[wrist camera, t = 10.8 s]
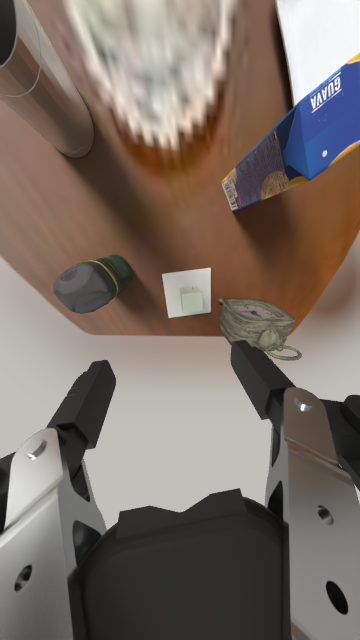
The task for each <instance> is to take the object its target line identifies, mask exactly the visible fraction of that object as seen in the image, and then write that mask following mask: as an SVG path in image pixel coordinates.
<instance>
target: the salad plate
mask: <svg viewBox="0 0 360 640" xmlns="http://www.w3.org/2000/svg"><path fill="white" fill-rule="evenodd" d="M275 6H276V11H277V16H278V21H279V26H280V30H281V35H282V40H283V45H284V51H285V56H286V62H287V68H288V74H289V81H290V87H291V94H292V102H293V107H294V106H295V105H296V104H297V103H298V102H299V101H300V100H302V99H303V98H304V97H305V96H306V95H308V94H309V93H310V92H311V91H313V90H314V89H315V88H316V87H317V86H319V85H320V84H321V83H322V82H323V81H325V80H326V79H327V78H328V77H330V76H331V75H332V74H333V73H334V72H336V71H337V70H338V69H339V68H341V67H342V66H343V65H344V64H345V63H347V62H348V61H349V60H350V59H352V58H353V57H354V56H355V55H356V54H358V53H359V52H360V0H275Z"/></svg>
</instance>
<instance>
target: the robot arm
mask: <svg viewBox="0 0 360 640" xmlns="http://www.w3.org/2000/svg"><path fill="white" fill-rule="evenodd" d="M0 99H1V100H2V101H3V102H5V103H6V104H7V105H8V106H9V107H10V108H11V109H13V110H14V111H15V112H16V113H17V114H18V115H19V116H20V117H22V118H23V119H24V120H25V121H26V122H27V123H28V124H29V125H31V126H32V127H33V128H34V129H35V130H36V131H37V132H38V133H40V134H41V135H42V136H43V137H44V138H45V139H46V140H47V141H49V142H50V143H51V144H52V145H53V146H54V147H55V148H56V149H58V150H59V151H60V152H61V153H63V154H65V155H67V156H69V157H72V158H79V157H83V156H84V155H86V154H87V153H88V152H89V151H90V149H91V147H92V144H93V140H94V129H93V123H92V119H91V116H90V113H89V111H88V109H87V107H86V105H85V103H84V101H83V100H82V98H81V96H80V94H79V92H78V91H77V89H76V87H75V85H74V83H73V81H72V80H71V78H70V76H69V74H68V73H67V71H66V69H65V67H64V65H63V64H62V62H61V60H60V58H59V56H58V55H57V53H56V51H55V49H54V48H53V46H52V44H51V42H50V40H49V39H48V37H47V35H46V33H45V31H44V30H43V28H42V26H41V24H40V23H39V21H38V19H37V17H36V15H35V14H34V12H33V10H32V8H31V6H30V5H29V3H28V1H27V0H0ZM231 365H232V367H233V370H234V371H235V373H236V375H237V377H238V379H239V380H240V382H241V384H242V386H243V387H244V389H245V391H246V393H247V395H248V396H249V398H250V400H251V402H252V404H253V405H254V407H255V409H256V411H257V413H258V414H259V416H260V418H261V419H262V420H264V419H270V420H271V422H272V424H273V425H272V433H271V449H270V464H269V473H268V478H267V485H266V494H265V506H263V505H261V504H260V503H258V502H256V501H254V500H251V499H249V498H246V497H242V494H241V491H240V488H239V489H234V490H228V491H223V492H218V493H213V494H210V495H209V496H207V497H206V498H204V499H203V500H201V501H200V502H198V503H196V504H195V505H193V506H192V507H190V508H189V509H187V510H186V511H184V512H181V513H179V512H175V511H170V510H166V509H162V508H157V507H153V506H146V507H141V508H136V509H131V510H126V511H120V513H119V519H118V522H117V523H116V524H115V525H113V526H112V527H111V528H110V529H109V530H107V529H106V526H105V522H104V519H103V517H102V514H101V512H100V511H99V509H98V507H97V505H96V503H95V499H94V496H93V492H92V488H91V484H90V480H89V477H88V473H87V470H86V465H85V461H84V459H83V456H84V453H85V450H87V449H92V448H95V447H96V444H97V441H98V438H99V434H100V432H101V429H102V426H103V422H104V420H105V417H106V413H107V410H108V407H109V404H110V401H111V398H112V395H113V392H114V389H115V386H116V378H115V375H114V373H113V371H112V368H111V366H110V364H109V362H108V361H107V360H102V361H95V362H93V363H92V364H91V365H90V367H89V369H88V371H86V372H84V373H83V374H82V375H80V377H78V379H76V381H75V382H74V384H73V386H72V387H71V389H70V390H69V392H68V394H67V397H65V399H64V400H63V402H62V403H61V405H60V407H59V408H58V410H57V411H56V413H55V414H54V416H53V417H52V419H51V421H50V422H49V424H48V425H47V427H46V428H45V429H43V430H40V431H39V432H37V433H35V434H34V435H32V436H31V437H30V438H29V439H27V440H26V441H25V442H24V443H23V444H22V445H21V447H20V448H19V449H18V451H16V452H14V453H12V454H10V455H7V456H6V457H4V458H1V459H0V640H360V504H359V501H358V497H357V493H356V490H355V486H356V487H357V488H358V490H359V491H360V395H350V396H348V397H347V398H346V399H345V401H344V402H338V401H331V400H324V399H319V398H318V397H316V396H315V395H314V394H312V393H311V392H309V391H307V390H304V389H302V388H297V387H296V386H295V385H294V384H293V383H292V382H291V381H290V380H289V379H288V378H287V377H286V375H285V374H284V373H283V372H282V371H281V370H280V369H279V368H278V367H277V366H276V365H275V364H274V363H273V361H272V360H271V359H269V358H268V356H267V355H266V354H265V353H264V352H263V351H262V350H260V349H259V348H257V347H255V346H253V347H251V345H250V344H249V343H248V342H247V341H246V340H238V341H233V342H232V348H231ZM339 464H340V465H339ZM340 466H341V467H342V468H341V467H340ZM354 484H355V486H354Z"/></svg>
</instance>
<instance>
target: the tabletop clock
mask: <svg viewBox="0 0 360 640" xmlns="http://www.w3.org/2000/svg"><path fill="white" fill-rule="evenodd" d="M219 303H220V304H223V307H222V312H221V316H220V321H219V325H220V328H221V330H222V333H223V334H224V336H225V338H226V339H227V340H228V342H229V343H230V344H231V346H232V342H233V341H238V340H246V341H247V342H248V343H249V344H250V345H251V347H253V346H255V347H257V348H259V349H260V350H262V351H263V352H264V351H266V352H267V353H268V354H269V355H271V356H272V357H274V358H277V359H281V360H298V359H300V358H301V356H302V355H301V353H300V352H299V351H298V350H296V349H295V348H292V347H290V346H285V345H284V343H285V341H286V338H287V336H288V334H289V332H290V330H291V328H292V326H293V324H294V322H295V318H294V317H292V316H291V315H290V314H288V313H287V312H285V311H283V310H282V309H280V308H278V307H276V306H274V305H272V304H270V303H268V302H265V301H261V300H252V299H225V300H223V299H219ZM283 348H284V349H291V350H294V351H296V352H297V353H298V356H294V357H283V356H278V355H275V354H272V353H270V352H269V351H274V350H275V349H277V350H278V351H282V350H283Z"/></svg>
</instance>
